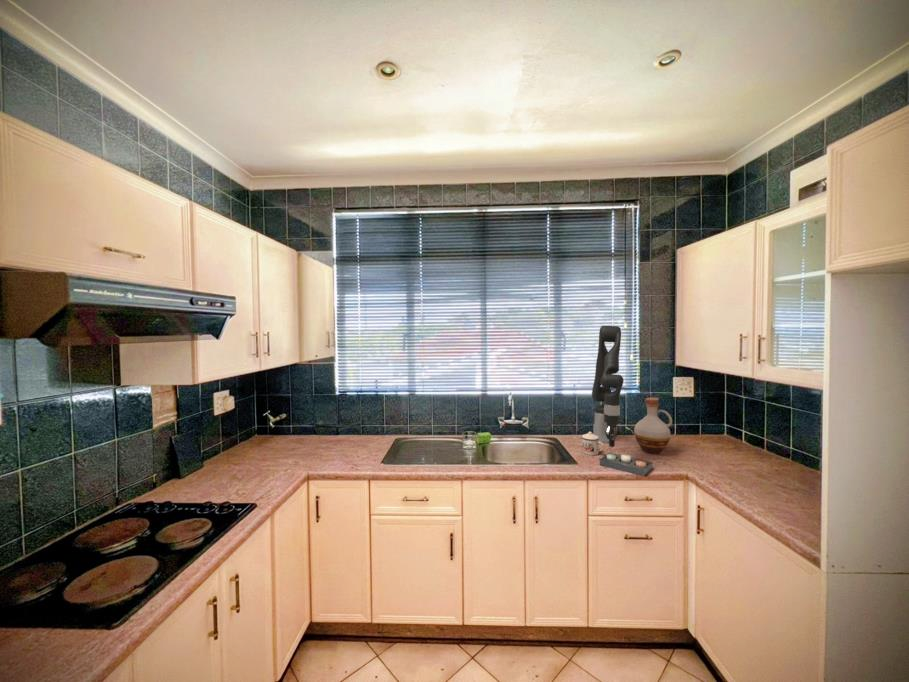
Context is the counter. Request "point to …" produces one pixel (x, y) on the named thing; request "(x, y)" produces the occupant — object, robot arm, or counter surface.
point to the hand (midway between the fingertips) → (611, 446)
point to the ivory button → (626, 458)
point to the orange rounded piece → (641, 463)
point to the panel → (626, 465)
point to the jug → (653, 429)
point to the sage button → (611, 456)
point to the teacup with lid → (591, 444)
